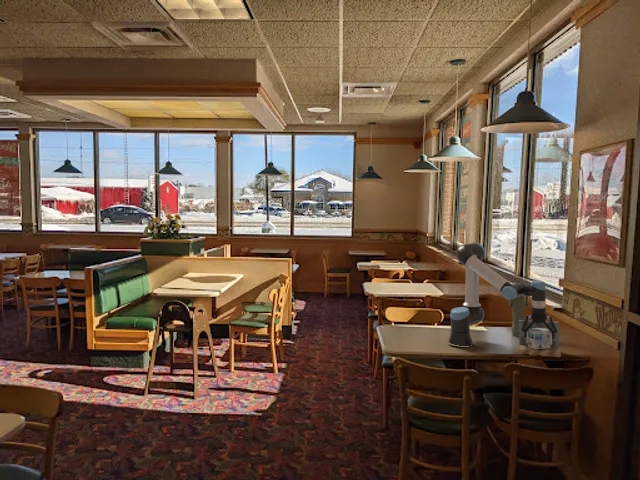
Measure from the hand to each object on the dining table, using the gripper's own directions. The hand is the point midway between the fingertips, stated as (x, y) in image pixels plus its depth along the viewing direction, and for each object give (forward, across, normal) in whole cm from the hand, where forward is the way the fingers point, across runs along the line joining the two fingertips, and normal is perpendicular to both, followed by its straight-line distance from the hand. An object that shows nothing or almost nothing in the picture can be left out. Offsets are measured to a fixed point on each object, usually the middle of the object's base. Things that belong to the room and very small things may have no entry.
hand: (539, 343), depth 283 cm
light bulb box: (+3, 0, 0) cm, 3 cm away
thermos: (+7, -11, +40) cm, 42 cm away
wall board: (+6, 0, +2) cm, 6 cm away
